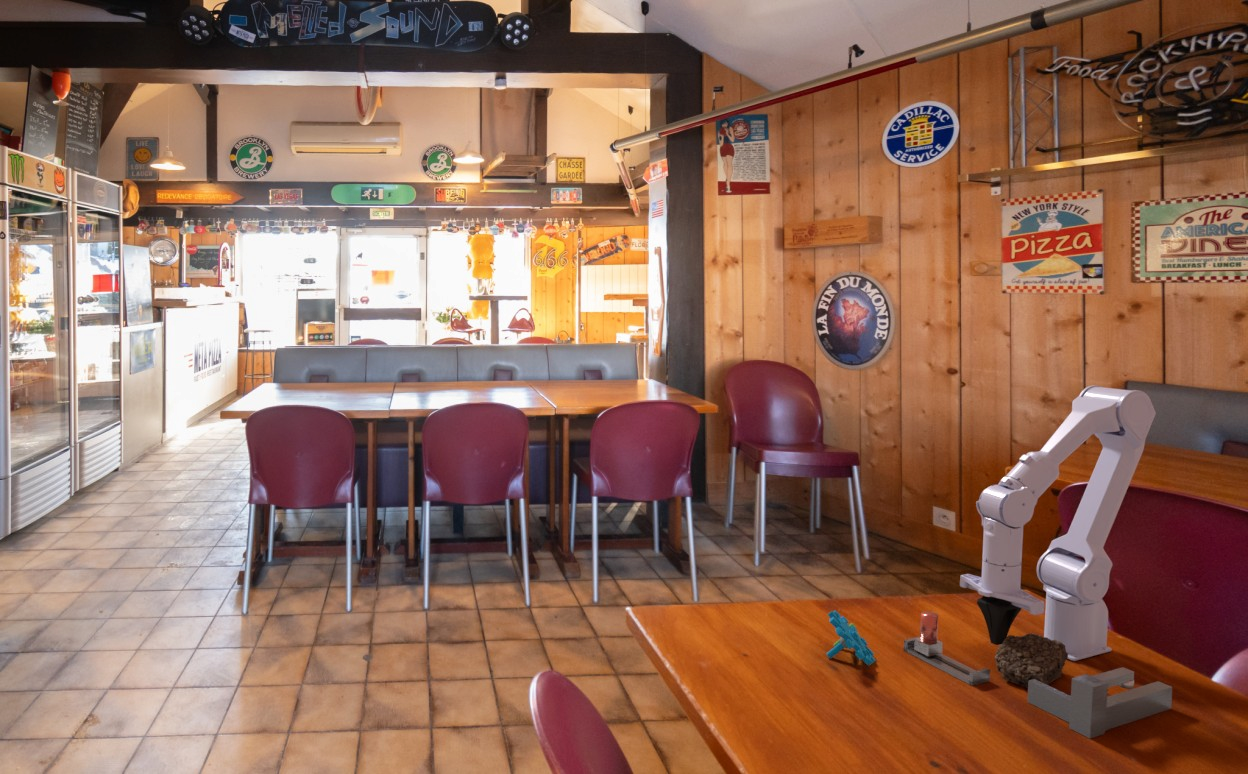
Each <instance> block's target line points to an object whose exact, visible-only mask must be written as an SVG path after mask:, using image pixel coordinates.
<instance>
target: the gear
mask: <svg viewBox="0 0 1248 774" xmlns="http://www.w3.org/2000/svg"><path fill="white" fill-rule="evenodd" d="M827 617H829V620H828V621H829V623H830V624H831V625H832V627H834V628H835V629H834V630H835V633H836V635H837V636H838V637H840V638H839V639H838V640H837V641H836V642H835V643H833V647H832V648H831V649H830V650H829V651H827V652H826V656H827V657H828V658H829V659H832V658H833V657H835V656H836V655H837V654H838V653H840V652H841V651H842V650H843V649H849V650H851V649H853V650H854V651H855V652H854V654H855V655H854V656H856V657H857V658H858V659H859V660H860V661H861V660H862V661H863V662H864V664H866V665H867V666H870V665H873V663H875V662H876V658H875V657H874V652H873V650H871V648H869V647H868V642H867V641H866V639H865V638H864V637H862V636H860V634H859V631H858V629H857V626H856V625H855V624H854V623H853V622H851V623H850V624H849V620H848V619H847V618H846V617H845V616H844V615H842V616H841V614H840V613H839V612H838V611H837V610H834V611H833V610H831V611H830V612H828V614H827Z"/></svg>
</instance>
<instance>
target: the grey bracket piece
mask: <svg viewBox="0 0 1248 774" xmlns="http://www.w3.org/2000/svg"><path fill="white" fill-rule="evenodd" d="M1115 686H1118V687H1120V688H1122V689H1127V690H1125V691H1122V692H1118V693H1115V694H1112V695H1108V688H1109V689H1110V688H1112V687H1115ZM1134 686H1135V671H1133V670H1131V669H1128V668H1126V667H1118V668H1115V669H1112V670H1111V669H1110V670H1108V671H1105V672H1101V673H1098V674H1093V675H1090V674H1088V673H1086V674H1085V673H1084V674H1081V675H1077V676H1075V677H1071V686H1070V687H1071V688H1070V695H1069V694H1067V693H1065V692H1063V691H1061V690H1059V689H1057V688H1055V687H1052V686H1050V685H1046V684H1044V683H1042V682H1040V681H1038V680H1035V679H1032V680H1029V681H1028V688H1027V703H1028V704H1030V705H1033V706H1034V707H1037V708H1039V709H1040V710H1042V711H1044V712H1046V713H1048V714H1051V715H1053V716H1054V717H1057V718H1058V719H1060V720H1062V721H1065V722H1067V723H1068V728H1069V729H1070V730H1072V731H1074V732H1076V733H1077V734H1080V735H1081V736H1084V737H1086V738H1088V739H1094V738H1096V737H1099V736H1102V735H1105V734H1106V731H1108V730H1112V729H1115V728H1116V727H1120V726H1125V725H1126V724H1130V723H1132V722H1135V721H1138V720H1142V719H1144V718H1148V717H1151V716H1153V715H1156V714H1159V713H1162V712H1165V711H1168V710H1171V709H1172V702H1173V701H1172V700H1173V699H1172V697H1173V687H1174V686H1171V685H1168V684H1165V683H1163V682H1161V681H1155V682H1151V683H1148V684H1145V685H1141V686H1138V687H1134Z"/></svg>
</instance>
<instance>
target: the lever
mask: <svg viewBox="0 0 1248 774" xmlns="http://www.w3.org/2000/svg"><path fill="white" fill-rule="evenodd" d="M938 630H939V614H938V613H936V612H933V611H927V610H926V611H922V612H921V613H920V632H919V633H920V635H919V637H920V638H916V639H915V645H914V650H916V651H918V652H920V653H922V654H924V655H926V656H933V655H937V654H943V641H940V640H938Z"/></svg>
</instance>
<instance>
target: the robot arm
mask: <svg viewBox="0 0 1248 774" xmlns="http://www.w3.org/2000/svg"><path fill="white" fill-rule="evenodd" d="M1156 414H1157V412H1156V410H1155V408H1154V405H1153V403H1152V400H1151V398H1150V396H1149V395H1148V394H1147V393H1146V392H1145V391H1143V390H1138V389H1133V390H1130V389H1122V388H1112V387H1103V386H1099V385H1089V386H1086V387H1085V388H1084V389H1082V391H1081V392H1079V395H1078V396H1077V397H1076V398H1074V399H1073V400H1072V403H1071V412H1070V413H1069V415H1067V417H1066V418H1065V419H1064V420H1063V422H1062V423H1061V425H1060V426H1059V427H1058V428H1057V429H1056V431H1054V433H1053V434H1052V436H1050V438H1049V439H1048V440H1047V442H1046V443H1044V445H1043V447H1042V448H1040V450H1039V451H1029V452H1027V453H1026V454H1022V455H1021V456H1020V457H1019V459H1018V460H1019V461H1018V462H1017V463H1016V464H1015V466H1014V467H1012V468H1011V470H1010V471H1009V472H1007V474H1006V475H1005V476H1003V477H1002V478H1001V479H1000V480H999V482H998V484H992V485H990V486H988V487H987V488H984V489H983V490H982V491H981V493H980V495H979V499H978V500H977V501H976V502H975V504H976V505H975V507H976V510H977V513H978V514H979V515H980V518H981V526H982V528H983V538H982V558H981V559H982V560H981V564H982V565H981V576H978V575H975V574H974V575H973V574H970V573H965V574H961V575H960V580H959V586H960V587H961V588H963V589H967V588H968V589H971V590H974V591H976V592H977V593H978V594H979V595H980V596H981V597H979V598H977V600H976V604H977V606H978V608H979V609H980V611H981V613H982V616H983V618H984V620H985V624H986V627H987V628H986V629H987V631H988V637H989V641H990V643H991V644H993V645H994V646H999V645H1001V644H1002V643H1003V641H1004V640H1005V638H1007V637H1008V634H1009V632H1010V629H1011V627H1012V625H1013V622H1014V621H1015V619H1016V617H1017V615H1019V613H1020V612H1021V611H1022V610H1025V611H1027V612H1029V614H1030V615H1032V616H1040V615H1042V614H1044V616H1045V617H1044V630H1043V633H1044V634H1043V637H1047V638H1048V639H1050V640H1057V641H1058V642H1059V641H1060V642H1061V643H1062V644H1064V645H1065V649H1066V652H1067V653H1068V658H1067V659H1068V660H1070V661H1073V662H1076V661H1079V660H1082V659H1083V660H1084V659H1087V658H1091V657H1093V656H1097V655H1102V654H1106V653H1109V652H1112V648H1111V647H1110V646H1107V642H1108V627H1109V626H1108V624H1109V622H1108V621H1109V609H1108V607H1107V605H1106V603H1105V601H1104V599H1103V598H1104V597H1105V595H1106V594H1107V592H1108V589H1109V585H1110V573H1111V570H1112V567H1113V561H1112V560H1111V558H1110V557H1109V555H1108V554H1107V552H1106V551H1105V549H1104V546H1105V544H1106V541H1107V539H1108V536H1109V534H1110V532H1111V529H1112V528H1113V525H1114V523H1115V520H1116V518H1117V515H1118V512H1119V510H1120V508H1121V505H1122V503H1123V500H1124V498H1125V495H1126V494H1127V490H1128V488H1129V486H1130V483H1131V481H1132V479H1133V478H1134V474H1135V471H1136V469H1137V467H1138V464H1139V462H1140V459H1141V457H1142V455H1143V452H1144V449H1145V444H1146V439H1147V437H1148V433H1149V431H1150V429H1151V426H1152V424H1153V422H1154V419H1155V416H1156ZM1092 435H1094V436H1095V437H1096V438H1097V439H1099V443H1100V444H1101V445H1102V450H1101V452H1100V455H1099V456H1098V459H1097V460H1096V464H1095V467H1094V468H1093V471H1092V474H1091V475H1090V478H1089V480H1088V482H1087V485H1086V488H1085V490H1084V493H1083V495H1082V496H1081V499H1080V503H1079V504H1078V507H1077V509H1076V512H1075V514H1074V516H1073V519H1072V521H1071V524H1070V526H1069V528H1068V531H1067V533H1066V534H1064V535H1062V536H1059V537H1056V538H1054V539H1053V540H1051V542H1050V544H1049V546H1048V548H1047V550H1046V551H1045V552H1044V553H1043V554H1042V555H1041V556H1040V557H1039V559H1038V561H1037V565H1036V575H1037V579H1038V580H1039V581H1040V582H1041V583H1042V584H1043V587H1042V588H1043V590H1042V591H1045V592H1046V593H1045V594H1046V595H1045V601H1044V600H1042V599H1039V598H1037V597H1035V596H1033V595H1032V594H1031V593H1028V592H1027V591H1025V590H1023V589H1022V588H1021V581H1022V579H1021V577H1022V559H1023V541H1024V540H1023V539H1024V526H1025V525H1026V524H1027V523H1028V522H1030V521H1031V519H1032V518H1033V515H1034V512H1035V507H1036V506H1037V504H1038V499H1039V498H1040V497H1041V496H1042V495H1043V494H1044V493H1045V492H1046V491H1047V489H1048V488H1050V486H1051V485H1052V484H1053V483H1054V482H1055V481H1056V480H1057V479H1058V478H1059V476H1060V468H1059V465H1060V464H1061V463H1063V462H1064V461H1065V460H1066V459H1067V458H1068V457H1069V456H1070V455H1071V454H1072V453H1073V452H1075V451H1076V450H1077V449H1078V448H1079V447H1081V445H1083V444H1084V443H1085V441H1087V440H1088V439H1089V438H1090V437H1091V436H1092ZM1076 556H1077V557H1076ZM1078 557H1080V558H1078ZM1081 558H1083V559H1084V560H1083V559H1081Z"/></svg>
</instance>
